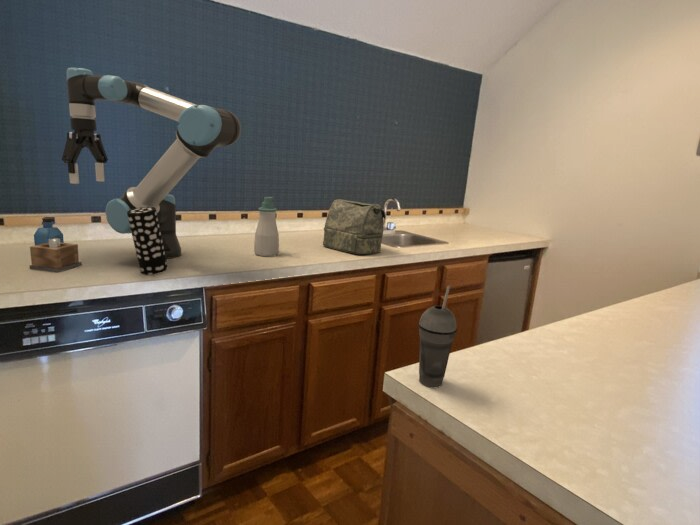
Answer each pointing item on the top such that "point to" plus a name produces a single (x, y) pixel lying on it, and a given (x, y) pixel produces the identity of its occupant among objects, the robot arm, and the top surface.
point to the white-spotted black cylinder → (147, 240)
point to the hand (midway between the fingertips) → (88, 182)
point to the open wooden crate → (54, 255)
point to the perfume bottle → (47, 232)
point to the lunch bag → (354, 227)
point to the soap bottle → (267, 230)
